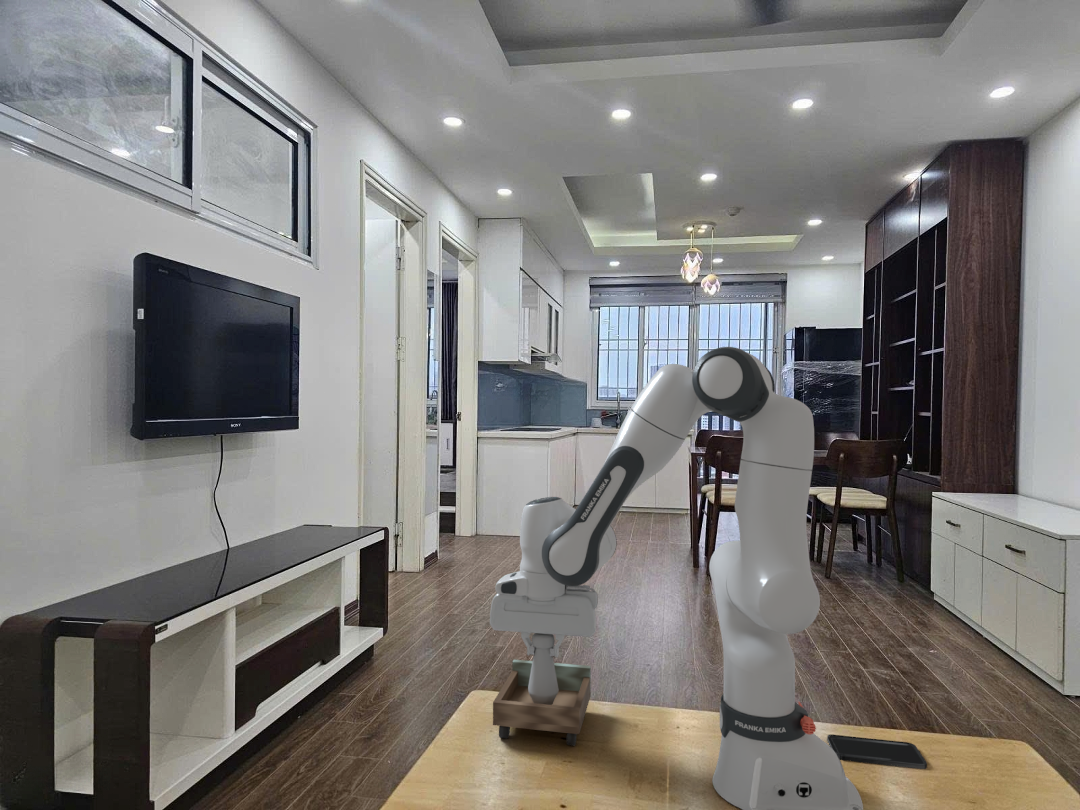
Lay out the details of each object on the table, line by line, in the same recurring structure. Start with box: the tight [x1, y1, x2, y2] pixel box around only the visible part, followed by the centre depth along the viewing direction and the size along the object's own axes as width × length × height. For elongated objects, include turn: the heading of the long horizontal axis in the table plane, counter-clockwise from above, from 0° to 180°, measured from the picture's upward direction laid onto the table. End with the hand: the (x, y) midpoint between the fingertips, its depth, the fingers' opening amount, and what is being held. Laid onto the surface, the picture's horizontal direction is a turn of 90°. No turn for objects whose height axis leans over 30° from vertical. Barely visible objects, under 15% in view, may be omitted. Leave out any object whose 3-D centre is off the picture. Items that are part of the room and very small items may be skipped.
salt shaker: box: [528, 633, 559, 705], centre depth 127 cm, size 6×6×13 cm
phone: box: [826, 734, 928, 770], centre depth 120 cm, size 8×1×15 cm
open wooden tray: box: [492, 659, 592, 747], centre depth 129 cm, size 16×16×9 cm
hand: (542, 655), depth 127 cm, fingers closed on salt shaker, 3 cm apart
